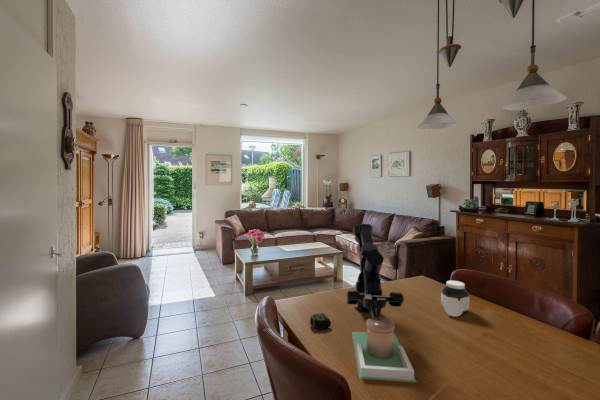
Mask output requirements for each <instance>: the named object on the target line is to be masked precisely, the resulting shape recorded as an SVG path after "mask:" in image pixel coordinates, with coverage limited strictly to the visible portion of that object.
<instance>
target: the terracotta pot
mask: <svg viewBox="0 0 600 400" xmlns="http://www.w3.org/2000/svg"><path fill="white" fill-rule="evenodd" d="M365 324H366V332H367V352H368V354H369V355H371V356H372V357H375V358H378V359H389V358H391V357H392V356H393V340H394V334H395V333H394V332H395V328H396V327H395V325H396V324H395V323H394V322H393V320H390V319H388V318H386V317H385V318H384V317H381V316H380V317H370V318H368V319H367V320H366V322H365Z"/></svg>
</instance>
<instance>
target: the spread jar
mask: <svg viewBox="0 0 600 400" xmlns="http://www.w3.org/2000/svg"><path fill="white" fill-rule="evenodd" d="M465 287H466V284H465V283H464V282H462V281H459V280H447V281H446V283H445V286H444V287H443V288H441V294H440V295H441V296H440V301H441V302H440V303H441V306H442V307H443V309H444V311H445V312H446V314H448V315H449V316H450V317H459V316H461V315H462V314H464V313H466V312H467V311H468V310H469V307H470V295H469V292H468V291H467V290H466V288H465Z"/></svg>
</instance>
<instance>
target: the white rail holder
mask: <svg viewBox="0 0 600 400" xmlns="http://www.w3.org/2000/svg"><path fill="white" fill-rule="evenodd" d="M398 354H399V357H400V359H401V361H402V364H403V366H404V368H398V367H382V366H366V365H365V362H364V358H363V353H362V348H361V344H359V343H357V357H358V362H359V368H360V374H361V377H371V378H386V379H400V380H414V377H415V369H414V368H413V366H412V364H411V361H410V359H409V357H408V355H407V352H406V351H405V349H404V347H403V345H400V346H398Z"/></svg>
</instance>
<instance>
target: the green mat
mask: <svg viewBox="0 0 600 400" xmlns="http://www.w3.org/2000/svg"><path fill="white" fill-rule="evenodd" d="M351 337H352V342H353V348H354V356H355V360H356V368H357V373H358V378H359V379H361V380H373V381H374V380H375V381H388V382H400V383H401V382H403V383H404V382H405V383H418V381H417V379H416V377H415V376H414V380H400V379H386V378H371V377H361V374H360V368H359V362H358V357H357V343H359V344H361V348H362V353H363V358H364V362H365V365H366V366H382V367H398V368H404V366H403V364H402V361H401V359H400V357H399V354H398V346H401V344H400V343H399V340H398V337H397V335H396V334H395V333H394V340H393V356H392V357H391V358H389V359H378V358H375V357H372V356H371V355H369V354H368V352H367V331H366V332H364V331H351Z"/></svg>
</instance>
